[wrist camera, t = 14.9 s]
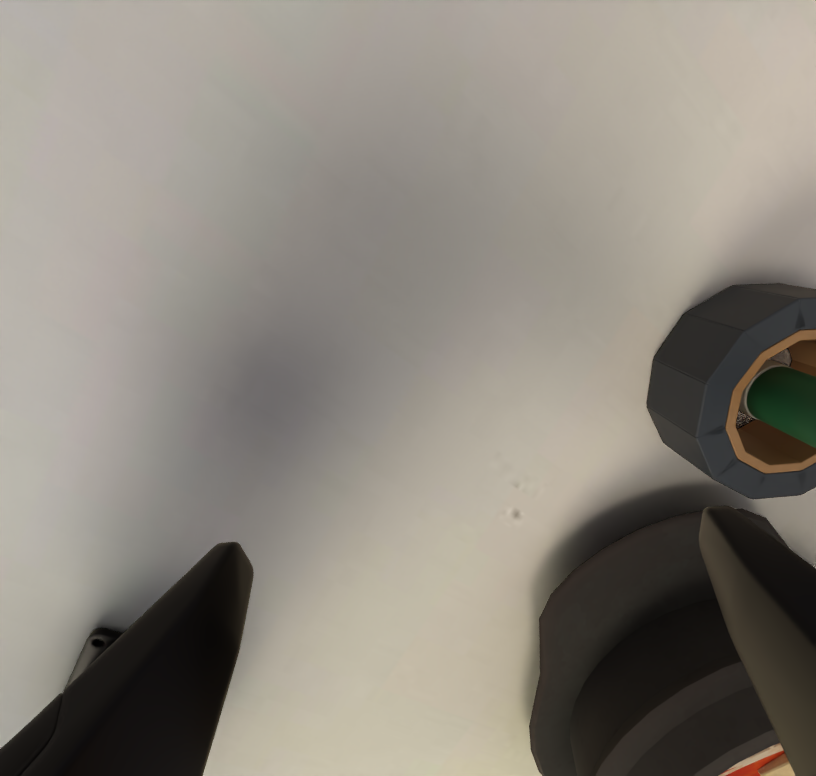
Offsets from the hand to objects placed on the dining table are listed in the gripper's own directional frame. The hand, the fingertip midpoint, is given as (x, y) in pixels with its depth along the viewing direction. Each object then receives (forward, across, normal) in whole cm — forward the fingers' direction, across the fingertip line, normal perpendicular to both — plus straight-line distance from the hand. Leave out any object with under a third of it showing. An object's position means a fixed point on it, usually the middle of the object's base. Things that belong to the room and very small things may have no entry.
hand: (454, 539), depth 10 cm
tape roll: (+14, -12, +7) cm, 20 cm away
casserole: (+10, -9, +24) cm, 27 cm away
